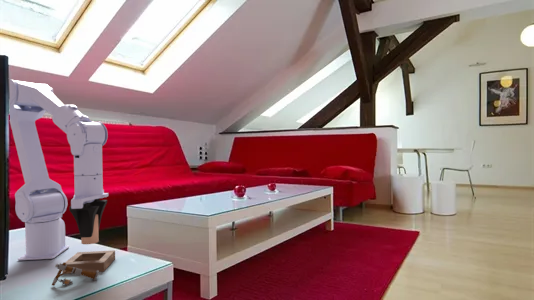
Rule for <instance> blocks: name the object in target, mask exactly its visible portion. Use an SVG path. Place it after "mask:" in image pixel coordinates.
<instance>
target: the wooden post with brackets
mask: <svg viewBox="0 0 534 300" xmlns="http://www.w3.org/2000/svg"><path fill="white" fill-rule="evenodd" d="M65 262H66V261H65ZM65 262H60V263H56V264H55V266H54V267H55V268H56V269H58V272H57V274H56V276H54V278H53V280H52V283H51V286H54V287H55V286H56V284H57V282H58V283H59V282H60V283H62V285H66V286H70V285H73V283H74V282H73V281H72V280H71V279H67V278H66V277H64V279H63V278H61V279H60V277H61V276H63V275H64V274H65V273H66V272H71V273H70V274H74V275H76V276H77V275H78V276H84V277H86V278H90V279H92V281H93V282H96V280H97V279H98V276H99V274H100V272H99V270H97V271H96V272H91V271H84V270H82V269H78V268H75V267H73V268H72V267H69V266H67V265H66V263H65ZM62 270H63V271H64V270H66V271H65V272H64V273H62Z"/></svg>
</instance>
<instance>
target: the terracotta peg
mask: <svg viewBox="0 0 534 300" xmlns="http://www.w3.org/2000/svg"><path fill="white" fill-rule="evenodd" d="M99 237H100V235H99V230H98V215H97V214H96V216H95V220H94V228H93V234H92V237H84V238H81V237H80V239H81V240H80V241H81V243H80V244H82V245H93V244H97V243H99V242H100V240H99Z"/></svg>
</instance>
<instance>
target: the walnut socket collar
mask: <svg viewBox="0 0 534 300" xmlns="http://www.w3.org/2000/svg"><path fill="white" fill-rule="evenodd" d="M115 259H116V250H97V251H96V250H95V251H77V252H76V253H75V254H74V255H72V257H70V258H69V259H67V260H66V261H65V263H66V265H67V266H69V267H72V268H73V267H75V268H78V269H82V270H84V271H91V272H96V271H97V270H99V273H101V272H105V271H106V270H107V268H108V267H109V266H110V265H111V264H112V263H113V262H114V261H115ZM65 271H66V270H64V271H63V270H62V272H61V274H62V273H64V272H65ZM65 274H72V273H71V272H66V273H65Z"/></svg>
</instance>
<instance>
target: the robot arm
mask: <svg viewBox="0 0 534 300" xmlns="http://www.w3.org/2000/svg"><path fill="white" fill-rule="evenodd" d="M9 79H10V120H9V124H10V129H11V130H12V131H11V132H12V136H13V141H14V143H15V148H16V151H17V156H18V160H19V164H20V168H21V172H22V177H23V181H24V184H23V185H22V186H21V187H20V188H19V189H17V191H15V192H14V193H15V194H14V198H15V214H16V216H17V218H18V219H19V220H20V221H21V222H23V223H24V226H25V227H24V231H25V254H23V255H21V256H19V257H18V258H17V261H32V260H33V261H34V260H36V261H37V260H52V259H55V258H56V257H57V256H58V255H61V254H62V253H63V252H65V251H66V250H67V249H68V248H70V245H66V224H65V221H64V220H63V219H62V218H63V214H65V212H66V211H67V208H68V205H69V204H68V198H67V196H66V194H65V193H64V191H63V189H62V185H61V184H59V183H58V182H56V181H54V180H52V179H51V178H50V176H49V172H48V168H47V165H46V161H45V156H44V153H43V150H42V145H41V142H40V138H39V134H38V130H37V126H36V121H37V120H39V119H42V118H43V116H44V114H45V113H46V112H47V113H48V114H50V115H52V116H51V118H52V122H53V124H54V125H56V126H57V127H58V128H59V129H60V130H61V131H62V132H63V133H65V134H66V139H67V142H68V144H69V147H70V153H71V155H72V156H73V175H74V179H73V180H74V183H73V184H74V186H73V187H74V195H73V198H72V199H71V200H70V206H69V208H68V209H69V212H70V213H71V214H72V216H73V219H74V220H75V222H76V225H77V228H78V232H79V236H80V239H81V238H84V237H92V234H93V228H94V220H95V216H96V214H97V215H98V231H100V225H101V220H102V216H103V214H104V211H105V208H106V206H107V204H108V199H103V198H107V197H109V192H105V189H104V186H103V185H104V183H103V182H104V179H103V176H104V175H103V172H104V171H103V170H104V169H103V146H104V145H106V143H107V140H108V138H109V136H108V135H109V134H108V129H107V127H106V125H105V124H104V123H103V122H102V121H92V120H91V119H90V117H89V116H87V115H85V114H84V113H82V112H81V111H80V110H79V109H78V106H76V105H75V104H64V103H63V102H62V101H61V100H60V99H59V97H57V96H56V94H55V92H54V88H53V87H51V86H49V85H48V84H47V83H37V82H36V83H35V82H30V81H22V80H14V79H12V78H9Z"/></svg>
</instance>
